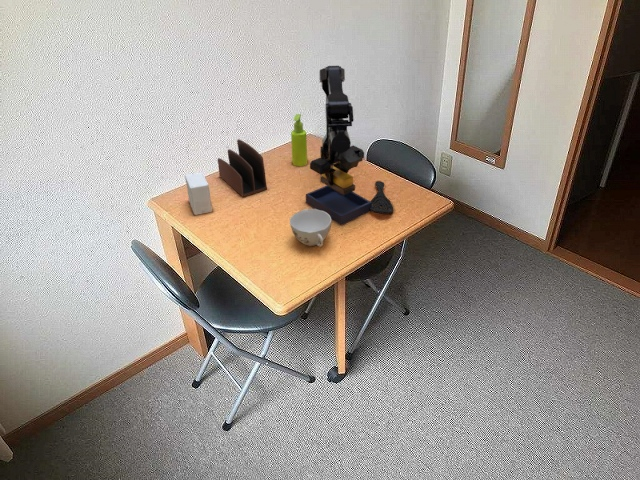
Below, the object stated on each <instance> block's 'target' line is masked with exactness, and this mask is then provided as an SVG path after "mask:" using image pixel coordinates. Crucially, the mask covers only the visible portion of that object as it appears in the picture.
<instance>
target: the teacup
mask: <svg viewBox="0 0 640 480" xmlns="http://www.w3.org/2000/svg"><path fill="white" fill-rule="evenodd" d="M289 224H290V225H289V226H290V229H291V231H292V234H293V236H294V237H295V238H296V240H297V241H299V242H300V243H302V245H305V246H308V247H315V246H318V247H323V245H324V240H325V239H326V238H327V236H328V234H329V233H330V231H331V227H332V219H331V217H330V215H329V214H328V213H326V212H324V211H321V210H317V209H315V208H306V209H302V210H299V211H298V212H296V213H294V214H292V216H291V217H290V218H289Z"/></svg>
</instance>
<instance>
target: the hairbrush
mask: <svg viewBox="0 0 640 480" xmlns="http://www.w3.org/2000/svg"><path fill="white" fill-rule="evenodd" d="M374 185H375V187H376V189H377V192H376V193H375V195H374V196H373V197H372V199H371V200H369V201H370V202H372V205H371V208H370V212H372V213H375V214H384V215H391V214H393V213H394V205H393V203H392V200H391V198H389V197H388V196H387V195H386V194H385V191H384V188H385V182H384V181H381V180H377V181H375V182H374Z"/></svg>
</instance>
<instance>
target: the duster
mask: <svg viewBox="0 0 640 480" xmlns="http://www.w3.org/2000/svg"><path fill="white" fill-rule="evenodd" d="M333 169H335V170H336V171H335V172H334V173H333V185H332V186H331V185H330V184H329V182H328V180H327V178H326V176H325V174H321V175H320V176H319V179H320V180H319V181H320V183H322V184H324V186H329V187H330V188H332V189H334V190H336V191H337V192H339V193H341V194H342V195H345V194H348V193H350V192H355V191H356V184H354V176H353V175H351V174H349V173H348V174H347V173H345V172H343V171H341V170H340V169H338V168H336V167H334V166H333Z"/></svg>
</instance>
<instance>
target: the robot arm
mask: <svg viewBox="0 0 640 480" xmlns="http://www.w3.org/2000/svg"><path fill="white" fill-rule="evenodd" d="M345 73H346V72H345V68H343V67H342V66H340V65H327V66H325V67H324V68H320V69H319V72H318V74H319V75H318V76H319V77H318V79H319V83H320V84H321V89H322V91H323V92H324V94H325V105H324V109H325V110H324V111H325V135H324V137H323V139H322V140H321V146H320V148H319V157H318V158H316V159H313V160H311V161H310V162H309V169H310V170H311V171H313V172H315V173H317V174H319V175H322V174H325V176H326V178H327V180H328V182H329V184H330V185H331V186H332V185H333V173H334V172H335V171H336V170H335V169H333V166H334V167H336V168H338V169H340V170H341V171H343V172H345V173H347V174H349V171H350V170H352V169H354V168H357V167H358V165H359V163H360V162H363V160H364V159H365V152H364V150H363V149H362V148H360V147H357V146H356V145H353V144H352V145H351V139H350V136H349V134H350V133H349V132H348V127H352V126H353V122H354V119H355V118H354V110H353V109H354V108H353V105H352V103H351V102H349V96H348V95H347V94H346V93H344V88H343V83H344V82H345V81H346V74H345Z"/></svg>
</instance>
